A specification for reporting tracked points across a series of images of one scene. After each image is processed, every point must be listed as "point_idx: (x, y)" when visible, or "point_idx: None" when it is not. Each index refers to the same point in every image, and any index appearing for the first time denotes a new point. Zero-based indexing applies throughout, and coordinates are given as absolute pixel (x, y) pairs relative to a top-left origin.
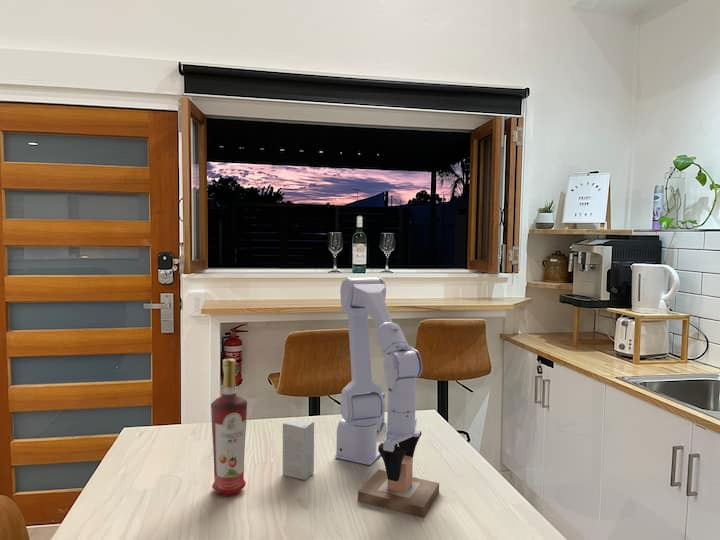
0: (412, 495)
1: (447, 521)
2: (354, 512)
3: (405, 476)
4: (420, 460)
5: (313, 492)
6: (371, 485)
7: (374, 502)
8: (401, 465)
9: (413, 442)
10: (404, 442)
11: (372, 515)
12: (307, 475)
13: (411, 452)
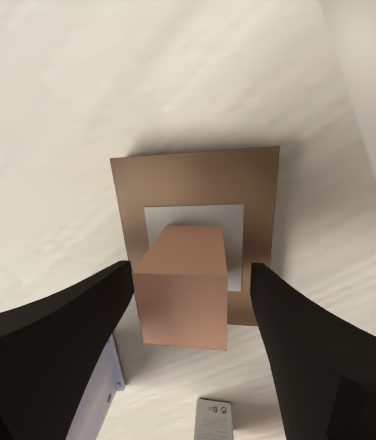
0: (221, 203)
1: (261, 71)
2: (310, 298)
3: (224, 249)
4: (19, 251)
5: (264, 380)
6: None
7: None
8: (227, 291)
9: (51, 329)
10: (75, 361)
11: (308, 262)
12: (221, 408)
13: (96, 291)
